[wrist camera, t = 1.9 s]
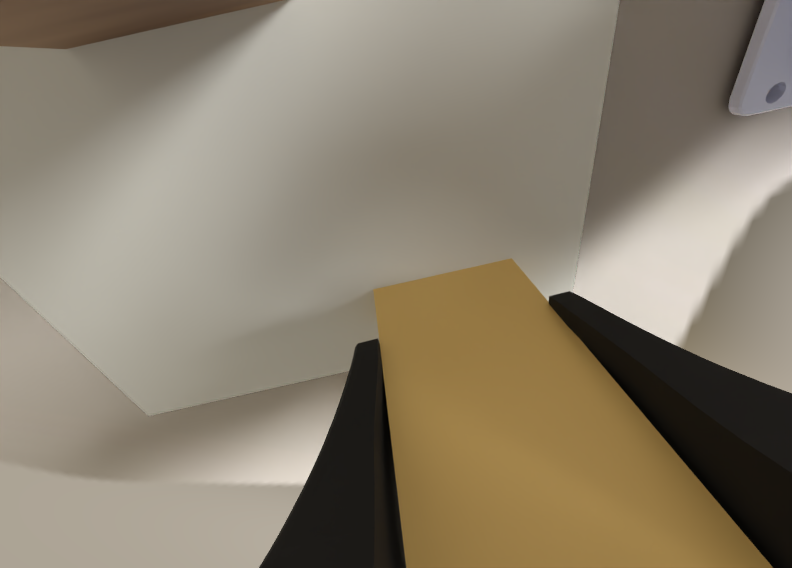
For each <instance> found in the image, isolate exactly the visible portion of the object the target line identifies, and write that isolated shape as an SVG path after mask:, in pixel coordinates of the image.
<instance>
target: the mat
mask: <svg viewBox="0 0 792 568" xmlns="http://www.w3.org/2000/svg"><path fill="white" fill-rule="evenodd" d="M619 4H620V0H283V1H278V2H274V3H269V4H265V5H260V6H256V7H252V8H247V9H243V10H238V11H234V12H229V13H225V14H220V15H216V16H211V17H207V18H203V19H198V20H194V21H189V22H185V23H180V24H176V25H171V26H167V27H163V28H158V29H154V30H149V31H145V32H140V33H136V34H131V35H127V36H123V37H118V38H114V39H109V40H105V41H100V42H96V43H91V44H87V45H82V46H78V47H74V48H69V49H50V48H28V47H7V46H0V278H1V279H2V280H3V281H4V282H5V283H7V284H8V285H9V286H10V287H11V288H12V289H13V290H14V291H15V292H16V293H17V294H18V295H19V296H20V297H21V298H23V299H24V300H25V301H26V302H27V303H28V304H29V305H30V306H31V307H32V308H33V309H34V310H35V311H36V312H37V313H39V314H40V315H41V316H42V317H43V318H44V319H45V320H46V321H47V322H48V323H49V324H50V325H51V326H52V327H53V328H55V329H56V330H57V331H58V332H59V333H60V334H61V335H62V336H63V337H64V338H65V339H66V340H67V341H68V342H69V343H71V344H72V345H73V346H74V347H75V348H76V349H77V350H78V351H79V352H80V353H81V354H82V355H83V356H84V357H85V358H87V359H88V360H89V361H90V362H91V363H92V364H93V365H94V366H95V367H96V368H97V369H98V370H99V371H100V372H101V373H103V374H104V375H105V376H106V377H107V378H108V379H109V380H110V381H111V382H112V383H113V384H114V385H115V386H116V387H117V388H119V389H120V390H121V391H122V392H123V393H124V394H125V395H126V396H127V397H128V398H129V399H130V400H131V401H132V402H133V403H135V404H136V405H137V406H138V407H139V408H140V409H141V410H142V411H143V412H144V413H145V414H146V415H147V416H152V415H157V414H161V413H166V412H170V411H175V410H179V409H184V408H188V407H192V406H197V405H201V404H206V403H210V402H215V401H219V400H224V399H228V398H233V397H237V396H241V395H246V394H250V393H255V392H259V391H264V390H268V389H273V388H277V387H281V386H286V385H290V384H295V383H299V382H304V381H308V380H313V379H317V378H322V377H326V376H330V375H335V374H339V373H344V372H348V371H349V370H350V367H351V363H352V359H353V355H354V350H355V346H356V345H357V344H358V343H361V342H365V341H369V340H373V339H377V338H378V340H379V333H378V325H377V317H376V308H375V300H374V291H373V289H377V288H382V287H386V286H391V285H395V284H399V283H404V282H408V281H413V280H417V279H422V278H426V277H431V276H435V275H439V274H444V273H448V272H453V271H457V270H462V269H466V268H471V267H475V266H480V265H484V264H488V263H493V262H497V261H502V260H506V259H511V258H512V259H513V260H514V262H515V263H516V264H517V265H518V266H519V267H520V269H521V270H522V271H523V272H524V273H525V275H526V276H527V277H528V278H529V279H530V280H531V282H532V283H533V284H534V285H535V286H536V288H537V289H538V290H539V291H540V292H541V294H542V295H543V296H544V297H545V298H546V299H547V301H548V302H549V296H552V295H556V294H560V293H564V292H568V291H570V292H572V293H573V289H574V283H575V277H576V270H577V264H578V258H579V252H580V246H581V239H582V233H583V227H584V221H585V215H586V208H587V202H588V196H589V190H590V184H591V177H592V171H593V165H594V159H595V153H596V146H597V140H598V134H599V128H600V122H601V115H602V109H603V103H604V97H605V91H606V84H607V78H608V72H609V66H610V60H611V53H612V47H613V41H614V35H615V29H616V22H617V16H618V10H619ZM379 343H380V342H379Z"/></svg>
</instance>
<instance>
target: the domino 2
mask: <svg viewBox="0 0 792 568" xmlns="http://www.w3.org/2000/svg"><path fill="white" fill-rule="evenodd" d="M373 291H374V300H375V308H376V317H377V325H378V333H379V342H380V350H381V359H382V367H383V376H384V384H385V392H386V401H387V409H388V418H389V426H390V434H391V443H392V451H393V460H394V468H395V476H396V485H397V493H398V502H399V510H400V518H401V527H402V535H403V544H404V552H405V561H406V568H773V567H772V566H771V565H770V563H769V562H768V561H767V560H766V559H765V558H764V556H763V555H762V554H761V553H760V552H759V550H758V549H757V548H756V547H755V546H754V544H753V543H752V542H751V541H750V540H749V539H748V537H747V536H746V535H745V534H744V533H743V531H742V530H741V529H740V528H739V527H738V526H737V524H736V523H735V522H734V521H733V520H732V518H731V517H730V516H729V515H728V514H727V513H726V511H725V510H724V509H723V508H722V507H721V505H720V504H719V503H718V502H717V501H716V499H715V498H714V497H713V496H712V495H711V494H710V492H709V491H708V490H707V489H706V488H705V486H704V485H703V484H702V483H701V482H700V481H699V479H698V478H697V477H696V476H695V475H694V473H693V472H692V471H691V470H690V469H689V468H688V466H687V465H686V464H685V463H684V462H683V460H682V459H681V458H680V457H679V456H678V455H677V453H676V452H675V451H674V450H673V449H672V447H671V446H670V445H669V444H668V443H667V441H666V440H665V439H664V438H663V437H662V436H661V434H660V433H659V432H658V431H657V430H656V428H655V427H654V426H653V425H652V424H651V423H650V421H649V420H648V419H647V418H646V417H645V415H644V414H643V413H642V412H641V411H640V410H639V408H638V407H637V406H636V405H635V404H634V402H633V401H632V400H631V399H630V398H629V397H628V395H627V394H626V393H625V392H624V391H623V389H622V388H621V387H620V386H619V385H618V383H617V382H616V381H615V380H614V379H613V378H612V376H611V375H610V374H609V373H608V372H607V370H606V369H605V368H604V367H603V366H602V365H601V363H600V362H599V361H598V360H597V359H596V357H595V356H594V355H593V354H592V353H591V352H590V350H589V349H588V348H587V347H586V346H585V344H584V343H583V342H582V341H581V340H580V338H579V337H578V336H577V335H576V334H575V333H574V332H573V331H572V330H571V329H570V328H569V327H568V326H567V325H566V324H565V323H564V321H563V320H562V319H561V318H560V317H559V315H558V314H557V313H556V312H555V311H554V309H553V308H552V307H551V306H550V305H549V304H548V303H549V302H548V301H547V299H546V298H545V297H544V296H543V295H542V294H541V292H540V291H539V290H538V289H537V288H536V286H535V285H534V284H533V283H532V282H531V280H530V279H529V278H528V277H527V276H526V275H525V273H524V272H523V271H522V270H521V269H520V267H519V266H518V265H517V264H516V263H515V262H514V260H513V259H512V258H511V259H506V260H502V261H497V262H493V263H488V264H484V265H480V266H475V267H471V268H466V269H462V270H457V271H453V272H448V273H444V274H439V275H435V276H431V277H426V278H422V279H417V280H413V281H408V282H404V283H399V284H395V285H391V286H386V287H382V288H377V289H373Z"/></svg>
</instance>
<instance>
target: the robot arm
mask: <svg viewBox="0 0 792 568" xmlns="http://www.w3.org/2000/svg"><path fill="white" fill-rule="evenodd" d="M769 90H770V91H769ZM768 92H769V93H768ZM791 106H792V0H765V1H764V4H763V6H762V9H761V12H760V15H759V18H758V20H757V23H756V26H755V29H754V32H753V35H752V37H751V40H750V43H749V46H748V49H747V51H746V54H745V57H744V60H743V63H742V66H741V68H740V71H739V74H738V77H737V80H736V82H735V85H734V88H733V91H732V94H731V96H730V100H729V105H728V107H729V111H730V112H731V113H732V114H733V115H740V116H751V115H755V114H760V113H764V112H769V111H773V110H778V109H782V108H787V107H791ZM548 304H549V305H550V306H551V307H552V308H553V309H554V311H555V312H556V313H557V314H558V315H559V317H560V318H561V319H562V320H563V321H564V323H565V324H566V325H567V326H568V327H569V328H570V329H571V330H572V331H573V332H574V333H575V334H576V335H577V336H578V337H579V338H580V340H581V341H582V342H583V343H584V344H585V346H586V347H587V348H588V349H589V350H590V352H591V353H592V354H593V355H594V356H595V357H596V359H597V360H598V361H599V362H600V363H601V365H602V366H603V367H604V368H605V369H606V370H607V372H608V373H609V374H610V375H611V376H612V378H613V379H614V380H615V381H616V382H617V383H618V385H619V386H620V387H621V388H622V389H623V391H624V392H625V393H626V394H627V395H628V397H629V398H630V399H631V400H632V401H633V402H634V404H635V405H636V406H637V407H638V408H639V410H640V411H641V412H642V413H643V414H644V415H645V417H646V418H647V419H648V420H649V421H650V423H651V424H652V425H653V426H654V427H655V428H656V430H657V431H658V432H659V433H660V434H661V436H662V437H663V438H664V439H665V440H666V441H667V443H668V444H669V445H670V446H671V447H672V449H673V450H674V451H675V452H676V453H677V455H678V456H679V457H680V458H681V459H682V460H683V462H684V463H685V464H686V465H687V466H688V468H689V469H690V470H691V471H692V472H693V473H694V475H695V476H696V477H697V478H698V479H699V481H700V482H701V483H702V484H703V485H704V486H705V488H706V489H707V490H708V491H709V492H710V494H711V495H712V496H713V497H714V498H715V499H716V501H717V502H718V503H719V504H720V505H721V507H722V508H723V509H724V510H725V511H726V513H727V514H728V515H729V516H730V517H731V518H732V520H733V521H734V522H735V523H736V524H737V526H738V527H739V528H740V529H741V530H742V531H743V533H744V534H745V535H746V536H747V537H748V539H749V540H750V541H751V542H752V543H753V544H754V546H755V547H756V548H757V549H758V550H759V552H760V553H761V554H762V555H763V556H764V558H765V559H766V560H767V561H768V562H769V563H770V565H771V566H772V567H773V568H792V393H789V392H786V391H784V390H781V389H778V388H775V387H773V386H770V385H767V384H765V383H762V382H759V381H757V380H755V379H752V378H750V377H747V376H745V375H742V374H739V373H737V372H735V371H732V370H729V369H727V368H725V367H722V366H720V365H718V364H715V363H713V362H711V361H708V360H706V359H704V358H701V357H699V356H697V355H695V354H693V353H691V352H689V351H686V350H684V349H682V348H680V347H678V346H676V345H673V344H671V343H669V342H667V341H665V340H663V339H661V338H659V337H657V336H655V335H653V334H651V333H649V332H647V331H645V330H643V329H641V328H639V327H637V326H635V325H633V324H631V323H629V322H627V321H625V320H624V319H622V318H620V317H618V316H616V315H614V314H612V313H610V312H608V311H607V310H605V309H603V308H601V307H599V306H597V305H595V304H594V303H592V302H590V301H588V300H586V299H584V298H582V297H580V296H578V295H576V294H574V293H572V292H570V291H568V292H564V293H560V294H556V295H552V296H549V303H548ZM259 568H406V561H405V552H404V544H403V535H402V527H401V518H400V510H399V502H398V493H397V485H396V476H395V468H394V460H393V451H392V443H391V434H390V426H389V418H388V409H387V401H386V392H385V384H384V376H383V367H382V359H381V350H380V343H379V340H378V338H377V339H373V340H369V341H365V342H361V343H358V344H357V345H356V346H355V350H354V355H353V359H352V363H351V367H350V370H349V374H348V377H347V381H346V384H345V387H344V390H343V393H342V396H341V399H340V402H339V405H338V408H337V411H336V414H335V416H334V419H333V421H332V424H331V426H330V429H329V431H328V434H327V437H326V439H325V442H324V444H323V446H322V449H321V451H320V453H319V456H318V458H317V460H316V462H315V465H314V467H313V469H312V471H311V473H310V475H309V477H308V479H307V481H306V484H305V486H304V488H303V490H302V492H301V494H300V496H299V497H298V499H297V501H296V503H295V505H294V507H293V509H292V511H291V513H290V515H289V517H288V518H287V520H286V522H285V524H284V526H283V528H282V529H281V531H280V533H279V535H278V537H277V539H276V540H275V542H274V544H273V545H272V547H271V549H270V551H269V552H268V554H267V556H266V557H265V559H264V561H263V562H262V564H261V565H260V567H259Z"/></svg>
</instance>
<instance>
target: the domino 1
mask: <svg viewBox="0 0 792 568" xmlns="http://www.w3.org/2000/svg"><path fill="white" fill-rule="evenodd" d="M278 1H283V0H0V46H7V47H28V48H50V49H69V48H74V47H78V46H82V45H87V44H91V43H96V42H100V41H105V40H109V39H114V38H118V37H123V36H127V35H131V34H136V33H140V32H145V31H149V30H154V29H158V28H163V27H167V26H171V25H176V24H180V23H185V22H189V21H194V20H198V19H203V18H207V17H211V16H216V15H220V14H225V13H229V12H234V11H238V10H243V9H247V8H252V7H256V6H260V5H265V4H269V3H274V2H278Z"/></svg>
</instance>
